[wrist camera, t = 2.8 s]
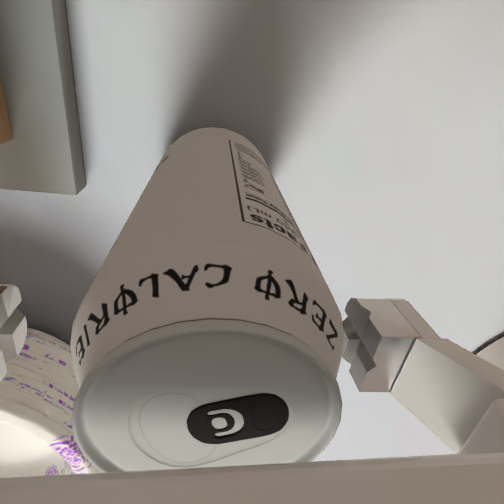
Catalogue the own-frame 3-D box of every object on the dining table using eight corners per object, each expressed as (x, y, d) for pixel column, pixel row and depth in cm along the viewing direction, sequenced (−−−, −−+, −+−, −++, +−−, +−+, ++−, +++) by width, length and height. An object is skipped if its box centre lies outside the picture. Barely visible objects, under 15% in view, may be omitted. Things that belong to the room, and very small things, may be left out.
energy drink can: (145, 135, 18) (-51, 340, 5) (258, 114, 18) (380, 259, 5) (176, 236, 21) (109, 533, 8) (273, 218, 21) (371, 483, 8)
